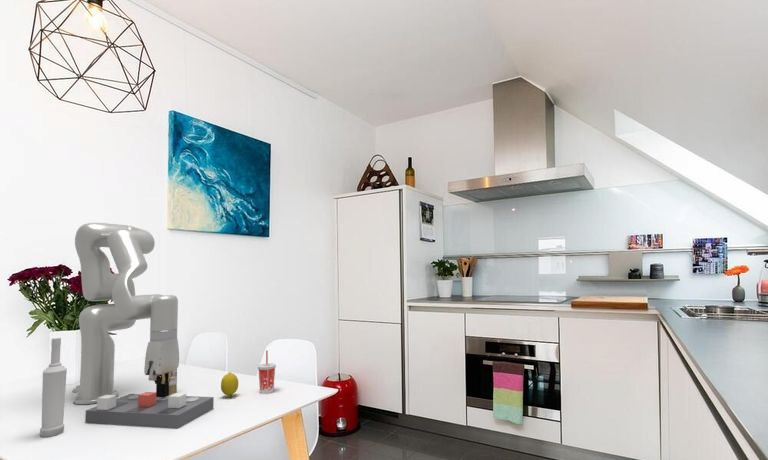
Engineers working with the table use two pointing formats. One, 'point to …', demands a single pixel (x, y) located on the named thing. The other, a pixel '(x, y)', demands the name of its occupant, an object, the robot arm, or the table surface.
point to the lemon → (229, 384)
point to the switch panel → (150, 412)
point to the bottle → (53, 394)
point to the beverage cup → (266, 376)
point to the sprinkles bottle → (173, 384)
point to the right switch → (177, 400)
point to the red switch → (147, 399)
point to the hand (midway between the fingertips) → (162, 396)
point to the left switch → (106, 402)
